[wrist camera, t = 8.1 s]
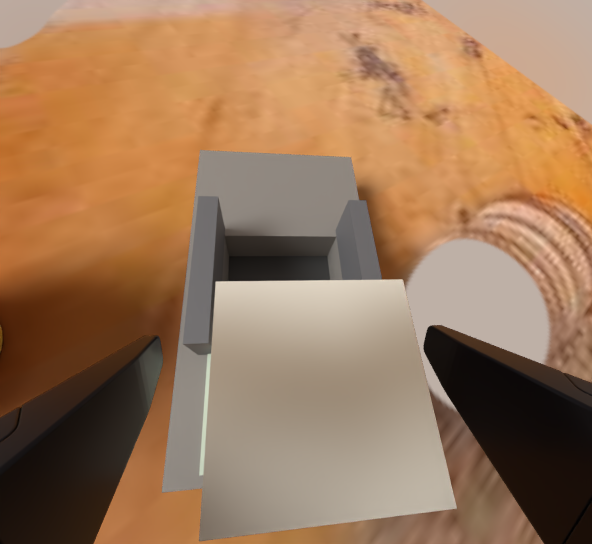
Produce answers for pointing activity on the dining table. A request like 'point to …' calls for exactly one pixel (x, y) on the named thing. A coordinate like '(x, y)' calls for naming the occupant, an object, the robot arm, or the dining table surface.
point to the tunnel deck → (257, 262)
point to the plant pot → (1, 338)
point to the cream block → (317, 409)
